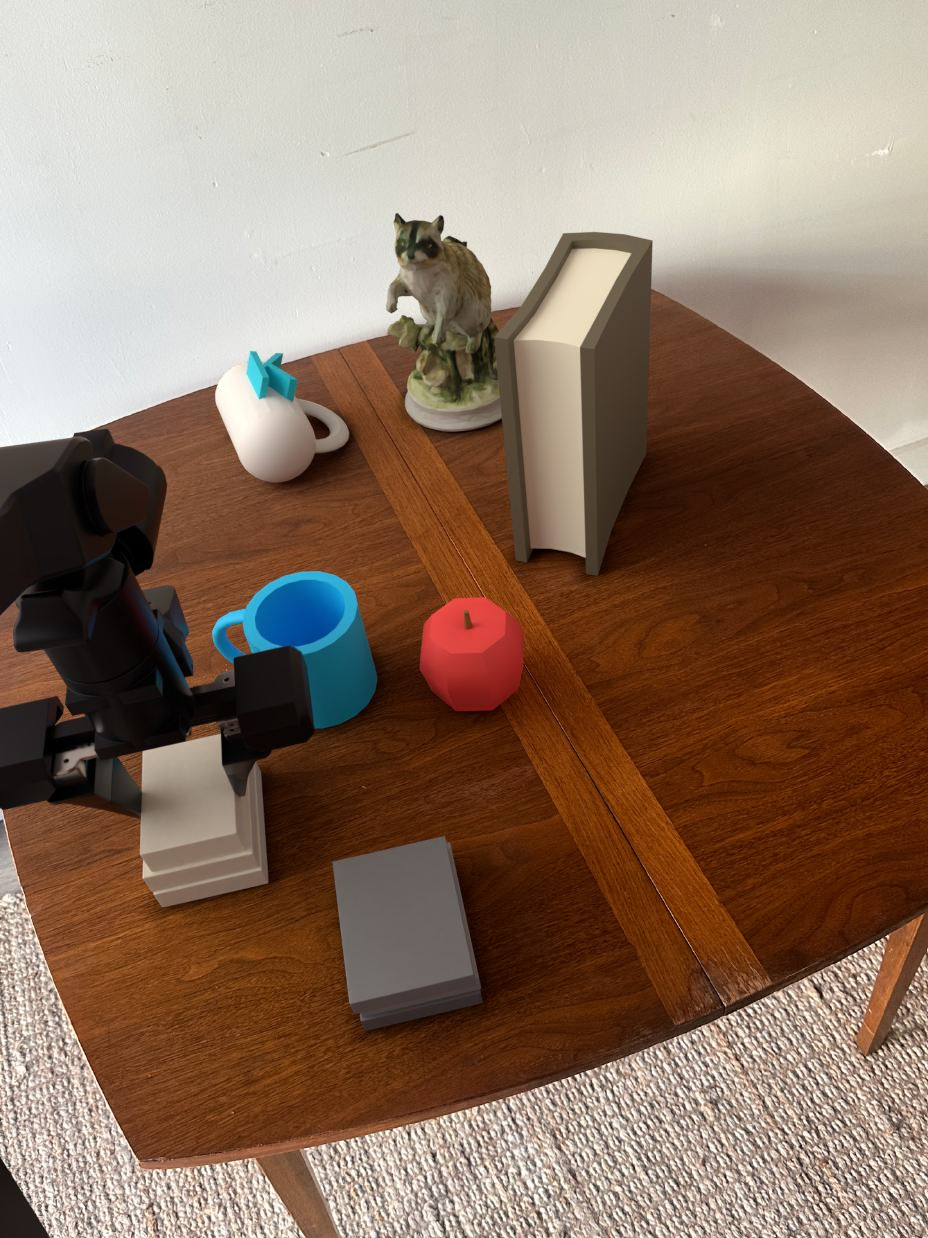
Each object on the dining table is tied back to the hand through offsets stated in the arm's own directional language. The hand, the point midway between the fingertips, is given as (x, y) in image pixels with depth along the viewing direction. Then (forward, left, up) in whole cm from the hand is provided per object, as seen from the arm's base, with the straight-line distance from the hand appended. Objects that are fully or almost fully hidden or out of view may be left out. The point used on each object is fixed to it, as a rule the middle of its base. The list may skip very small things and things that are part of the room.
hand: (193, 801), depth 66 cm
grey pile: (-11, -12, -4) cm, 17 cm away
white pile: (0, 0, -4) cm, 5 cm away
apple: (+8, -20, -5) cm, 22 cm away
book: (+25, -33, -5) cm, 42 cm away
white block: (0, 0, -1) cm, 1 cm away
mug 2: (+12, -7, -5) cm, 15 cm away
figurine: (+44, -26, -5) cm, 51 cm away
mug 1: (+41, -9, -5) cm, 42 cm away
